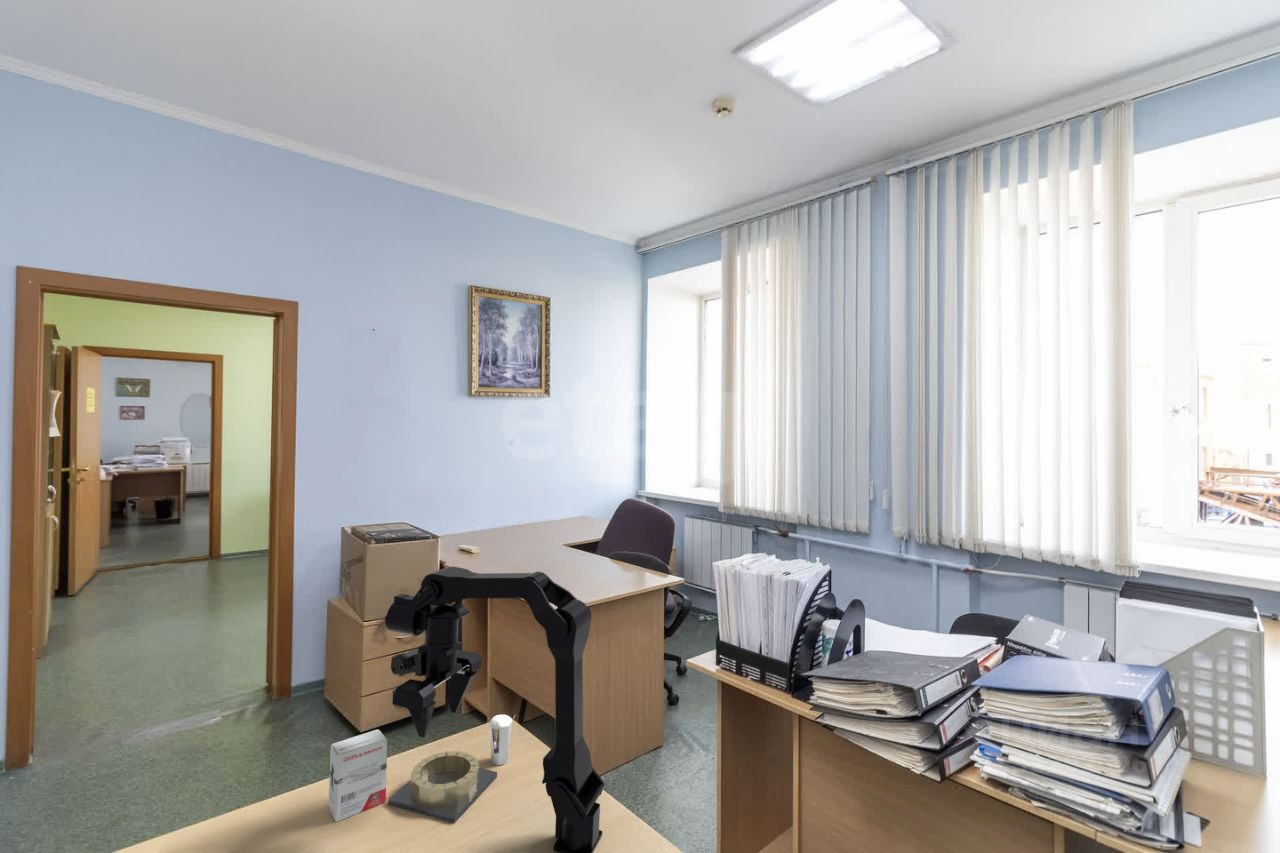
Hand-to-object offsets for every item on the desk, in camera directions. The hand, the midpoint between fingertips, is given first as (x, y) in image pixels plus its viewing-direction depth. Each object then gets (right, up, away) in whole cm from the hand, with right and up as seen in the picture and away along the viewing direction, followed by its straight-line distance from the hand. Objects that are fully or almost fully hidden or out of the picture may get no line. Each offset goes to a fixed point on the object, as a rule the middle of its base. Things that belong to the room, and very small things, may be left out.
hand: (438, 723), depth 106 cm
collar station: (0, -15, +4) cm, 15 cm away
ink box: (-14, -14, -1) cm, 20 cm away
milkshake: (+8, -15, +14) cm, 22 cm away
